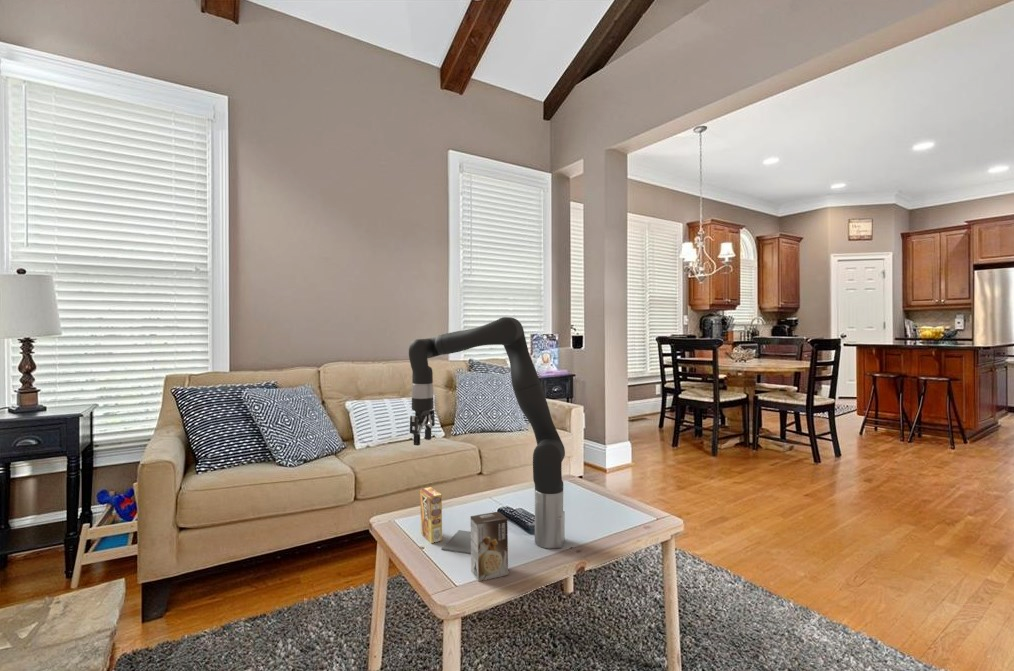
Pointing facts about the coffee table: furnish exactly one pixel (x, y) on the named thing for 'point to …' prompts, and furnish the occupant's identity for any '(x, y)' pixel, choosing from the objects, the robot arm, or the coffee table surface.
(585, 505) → the coffee table surface
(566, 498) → the coffee table surface
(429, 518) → the candy box
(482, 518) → the coffee box
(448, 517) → the coffee table surface
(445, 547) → the mat
